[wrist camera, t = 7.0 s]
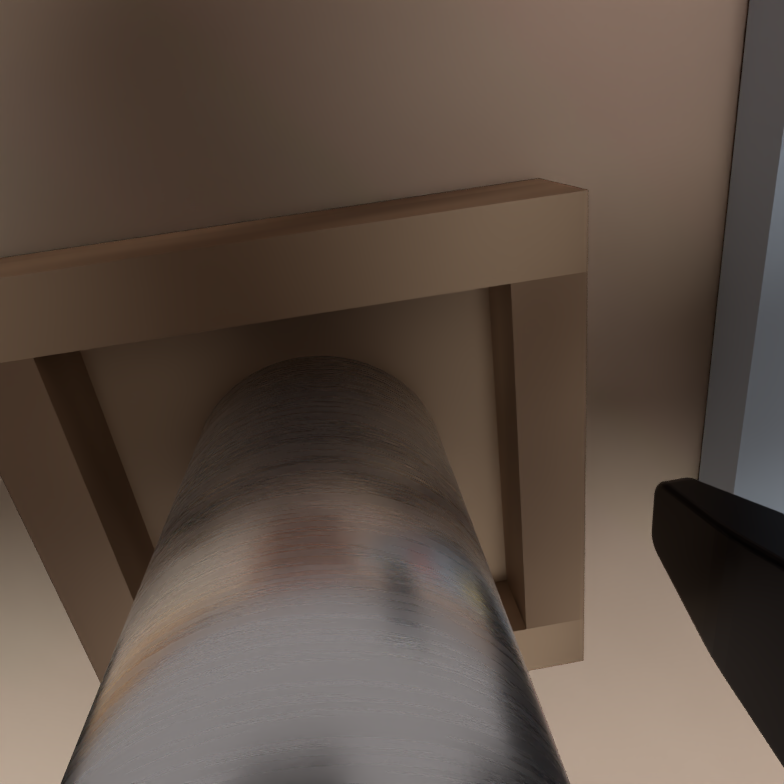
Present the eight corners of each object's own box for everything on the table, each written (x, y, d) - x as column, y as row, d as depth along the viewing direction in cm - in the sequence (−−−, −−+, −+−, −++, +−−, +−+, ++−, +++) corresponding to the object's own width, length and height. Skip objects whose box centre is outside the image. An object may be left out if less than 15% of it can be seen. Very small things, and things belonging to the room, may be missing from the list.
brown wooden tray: (538, 178, 9) (588, 189, 7) (548, 588, 12) (583, 660, 10) (-9, 258, 8) (-89, 291, 7) (156, 658, 12) (129, 743, 10)
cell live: (429, 337, 9) (784, 1036, 2) (451, 545, 11) (690, 1320, 4) (165, 378, 9) (-411, 1294, 2) (230, 583, 10) (48, 1468, 4)
